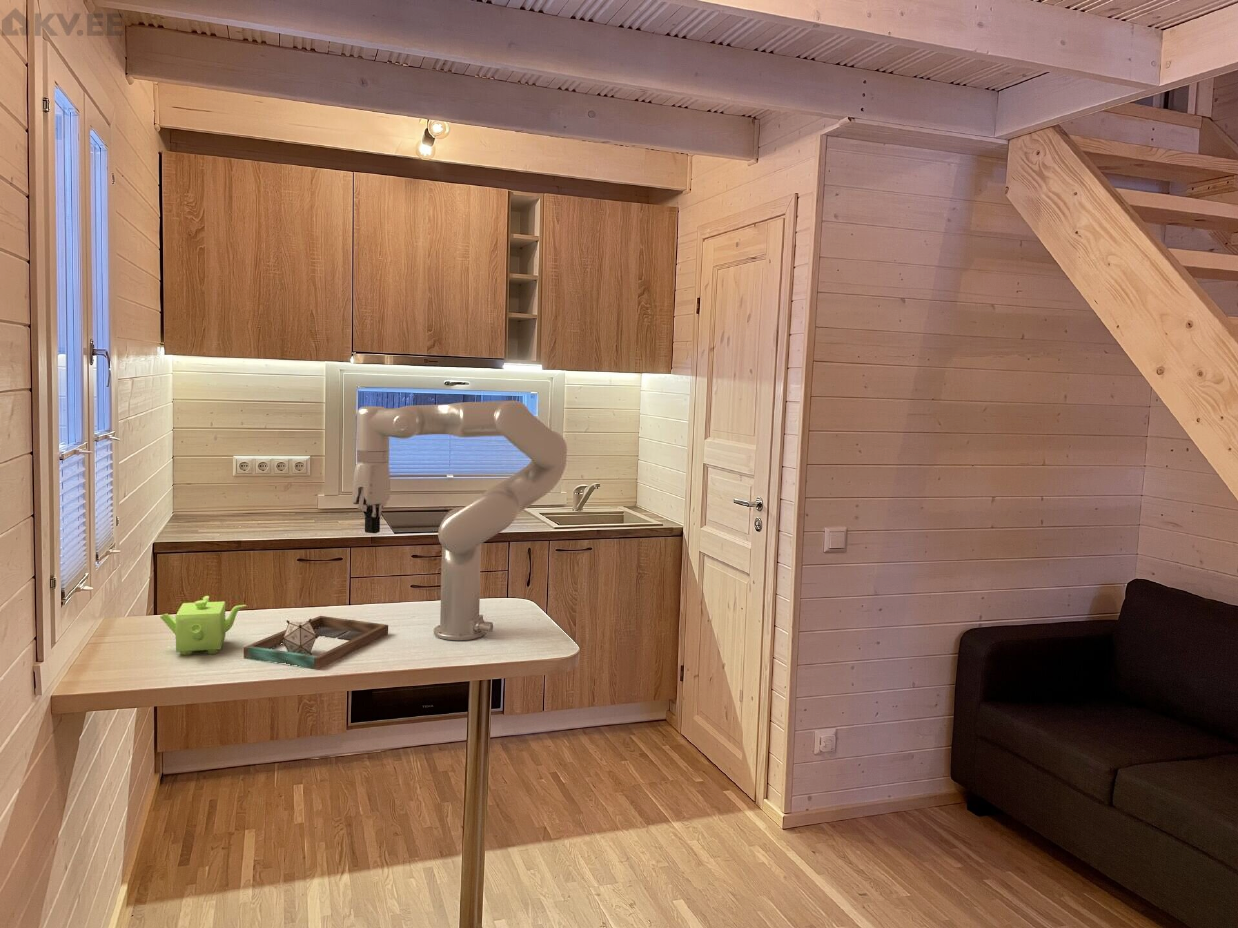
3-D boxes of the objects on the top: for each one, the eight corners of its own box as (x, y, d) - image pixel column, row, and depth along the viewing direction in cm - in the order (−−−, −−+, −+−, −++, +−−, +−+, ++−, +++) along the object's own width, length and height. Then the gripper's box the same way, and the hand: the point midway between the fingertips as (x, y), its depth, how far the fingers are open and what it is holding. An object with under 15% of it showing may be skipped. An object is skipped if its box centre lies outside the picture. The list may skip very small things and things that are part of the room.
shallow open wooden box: (388, 634, 223) (388, 624, 223) (318, 669, 197) (318, 658, 196) (320, 625, 229) (320, 615, 229) (243, 657, 202) (243, 646, 202)
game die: (303, 673, 205) (305, 646, 198) (270, 657, 205) (271, 630, 199) (326, 644, 212) (328, 618, 205) (293, 629, 212) (295, 602, 206)
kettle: (207, 635, 217) (206, 589, 216) (250, 645, 211) (250, 598, 210) (151, 652, 204) (150, 603, 202) (195, 663, 198) (195, 613, 196)
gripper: (376, 454, 228) (375, 526, 230) (341, 459, 214) (341, 536, 216) (402, 456, 226) (401, 528, 228) (369, 461, 212) (368, 539, 214)
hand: (372, 532), depth 222 cm, fingers closed
